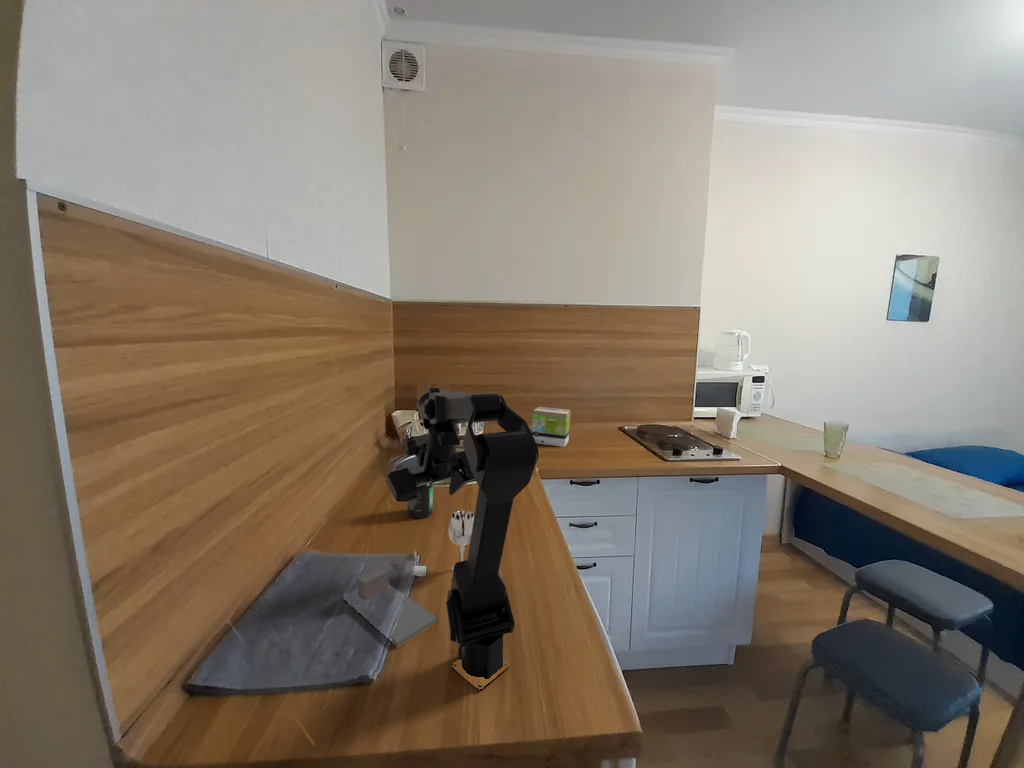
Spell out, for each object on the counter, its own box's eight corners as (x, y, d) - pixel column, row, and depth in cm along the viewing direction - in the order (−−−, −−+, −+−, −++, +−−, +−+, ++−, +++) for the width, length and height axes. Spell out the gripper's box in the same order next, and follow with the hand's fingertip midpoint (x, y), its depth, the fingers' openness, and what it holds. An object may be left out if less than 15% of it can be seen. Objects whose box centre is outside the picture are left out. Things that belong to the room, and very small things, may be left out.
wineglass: (462, 558, 97) (462, 507, 96) (481, 568, 94) (482, 515, 92) (442, 569, 93) (442, 515, 91) (461, 580, 89) (462, 524, 88)
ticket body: (437, 624, 76) (437, 617, 76) (397, 649, 70) (397, 641, 70) (405, 600, 82) (405, 594, 82) (366, 621, 76) (366, 614, 76)
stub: (404, 598, 83) (403, 574, 82) (365, 619, 77) (364, 593, 76) (380, 581, 88) (380, 558, 87) (342, 599, 82) (341, 574, 81)
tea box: (530, 443, 190) (531, 410, 188) (536, 438, 199) (537, 406, 197) (565, 447, 186) (566, 413, 183) (569, 441, 195) (570, 408, 193)
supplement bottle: (437, 514, 119) (437, 471, 117) (415, 521, 114) (415, 477, 113) (424, 506, 124) (424, 465, 122) (402, 512, 119) (401, 470, 118)
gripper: (463, 411, 94) (452, 462, 103) (377, 431, 84) (374, 486, 92) (490, 445, 87) (476, 497, 96) (400, 472, 77) (394, 527, 86)
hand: (431, 500), depth 93 cm, fingers open, 9 cm apart
